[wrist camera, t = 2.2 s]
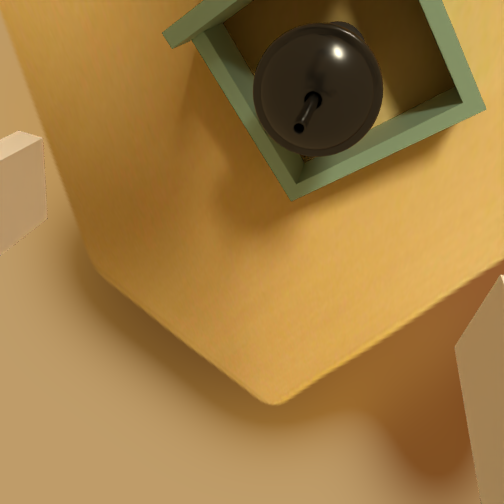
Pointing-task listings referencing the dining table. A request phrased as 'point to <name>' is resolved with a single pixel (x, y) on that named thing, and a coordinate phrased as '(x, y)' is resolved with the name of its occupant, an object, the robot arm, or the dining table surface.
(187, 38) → the frame
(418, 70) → the dining table surface
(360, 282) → the dining table surface
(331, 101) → the drinking cup
